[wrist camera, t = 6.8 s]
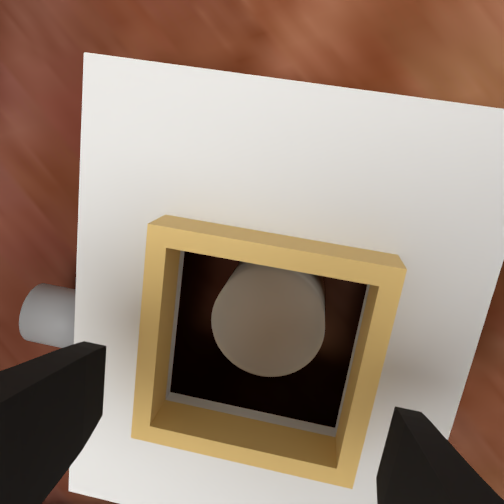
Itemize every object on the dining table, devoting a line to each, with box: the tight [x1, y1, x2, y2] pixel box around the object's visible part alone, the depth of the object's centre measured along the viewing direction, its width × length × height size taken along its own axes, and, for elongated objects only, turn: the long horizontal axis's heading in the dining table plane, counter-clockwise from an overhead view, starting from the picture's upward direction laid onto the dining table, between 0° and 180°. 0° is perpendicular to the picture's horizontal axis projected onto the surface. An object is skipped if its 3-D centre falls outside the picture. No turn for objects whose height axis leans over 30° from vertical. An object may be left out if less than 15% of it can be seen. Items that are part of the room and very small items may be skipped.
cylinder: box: [211, 261, 325, 377], centre depth 18 cm, size 4×4×4 cm
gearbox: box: [19, 52, 504, 504], centre depth 17 cm, size 16×16×6 cm
